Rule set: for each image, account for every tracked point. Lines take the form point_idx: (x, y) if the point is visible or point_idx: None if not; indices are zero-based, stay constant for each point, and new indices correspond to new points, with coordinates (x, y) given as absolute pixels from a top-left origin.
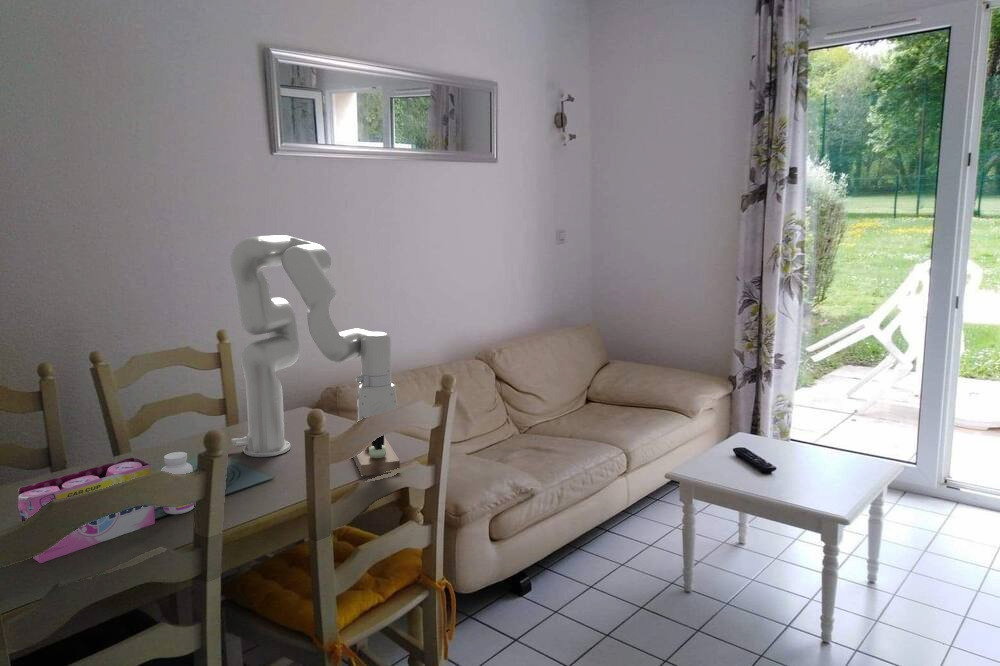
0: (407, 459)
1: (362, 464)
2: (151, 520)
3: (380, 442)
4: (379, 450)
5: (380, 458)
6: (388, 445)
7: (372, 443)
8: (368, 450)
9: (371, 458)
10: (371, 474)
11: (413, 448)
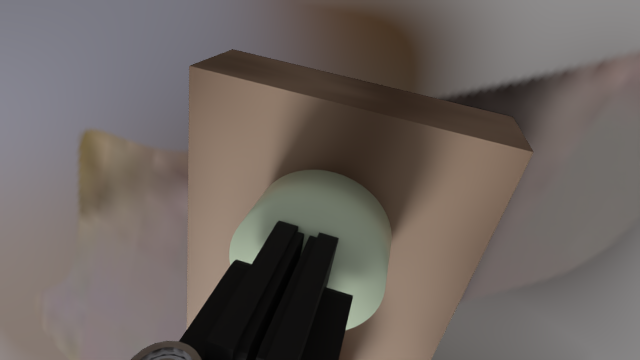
0: (147, 208)
1: (511, 159)
2: None
3: (268, 269)
4: (313, 208)
5: None
6: None
7: (346, 320)
8: None
9: None
10: (434, 99)
11: (98, 305)
